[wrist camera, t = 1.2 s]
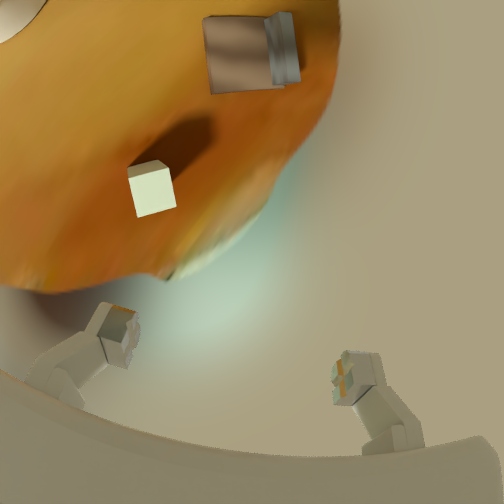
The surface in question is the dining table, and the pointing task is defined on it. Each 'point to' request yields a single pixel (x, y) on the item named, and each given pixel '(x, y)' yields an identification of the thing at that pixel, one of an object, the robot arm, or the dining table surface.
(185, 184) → the dining table surface
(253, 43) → the display stand
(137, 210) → the cabinet block
